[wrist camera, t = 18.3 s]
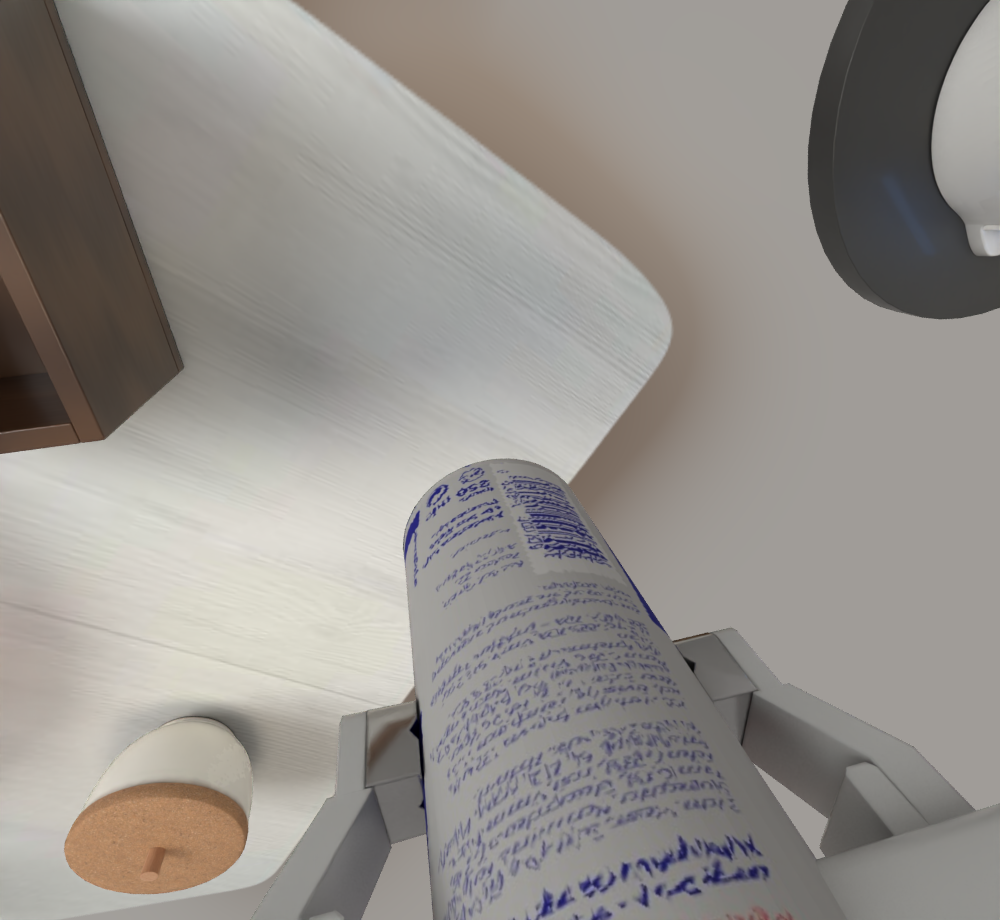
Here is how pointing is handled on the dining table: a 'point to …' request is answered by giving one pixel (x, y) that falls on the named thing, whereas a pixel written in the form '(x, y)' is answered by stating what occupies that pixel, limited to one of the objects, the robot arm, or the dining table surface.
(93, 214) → the chest
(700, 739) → the beverage can
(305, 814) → the dining table surface
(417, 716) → the robot arm
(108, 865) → the trinket box
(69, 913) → the dining table surface
